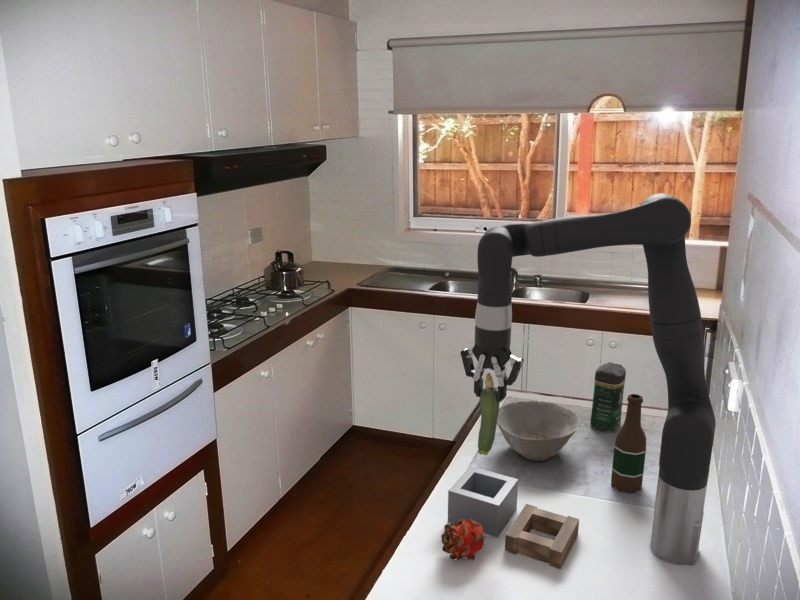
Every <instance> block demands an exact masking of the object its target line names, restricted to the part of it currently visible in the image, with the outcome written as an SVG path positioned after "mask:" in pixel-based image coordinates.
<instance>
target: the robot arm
mask: <svg viewBox="0 0 800 600" xmlns="http://www.w3.org/2000/svg"><path fill="white" fill-rule="evenodd" d="M689 210H690V209H688V207H687V206H686V204H685V203H684V202H683V201H681V200H680V199H679V198H677V197H676V196H674V195H672V194H668V193H662V192H661V193H655V194H652V195H650V196H648V197H647V198H645V199H644V200H643V201H642V202H641V203H640V205H638V206H634V207H632V208H631V207H630V208H628V209H625V210H621V211H620V210H619V211H615V212H610V213H603V214H593V215H590V214H589V215H576V216H575V215H574V216H564V217H556V218H551V219H550V218H549V219H545V220H538V221H535V222H530V223H510V224H502V225H496V226H493V227H491V228H489V229H487V230H486V231H485V232H484V234H483V235H482V236H481V238H480V240H479V241H478V244H477V254H476V255H477V259H476V260H477V272H478V284H477V300H476V301H477V302H476V309H475V316H474V321H475V322H474V324H475V325H474V345H473V347H468V346H466V347H464V348H463V349H462V350H460V358H461V360H462V365H463V368H464V369H463V370H464V371H465V376H466V377H471V378H472V379H473V394H475V396H476V397H477V398H480V394H481V391H482V390H483V389H484V378H483V376H484V373H485V370H486V369H490V370H491V371H493V372H494V374H495V377H496V378H497V383H498V385H497V391H498V392H497V401H498V402H499V403H501V402H503V400H505V399H506V397H507V391H508V386H510V387H511V386H512V385H513V384H514V383H515V382H516V381H517V379H518V376H519V375H520V371H521V368H522V367H523V364H524V361H525V360H524V358H523V357H516V356H515V355H513V353H512V351H511V337H512V324H513V323H512V322H513V321H512V320H513V310H512V309H513V307H512V301H513V298H512V297H513V280H512V278H511V276H512V264H513V263H512V262H513V257H514V258H515V257H521V256H528V255H529V256H532V257H536V258H541V257H548V256H555V255H562V254H568V253H569V254H570V253H573V252H581V251H587V250H591V249H597V248H605V247H615V246H616V247H619V246H631V245H633V246H635V245H636V246H638V245H639V246H643V247H642V248H643V252H644V257H645V262H646V268H647V292H648V293H647V294H648V296H647V297H648V310H649V320H650V321H649V322H650V328H651V336H652V340H653V344H654V347H655V351H656V354H657V358H658V359H659V362H660V364H661V367H662V369H663V372H664V374H665V379H666V387H667V413H666V417H665V421H664V423H663V427H662V431H661V432H662V433H661V442H660V449H659V450H660V451H659V460H658V466H659V467H658V468H659V469H658V476H657V485H656V493H655V502H654V509H653V510H654V511H653V517H652V518H653V519H652V526H651V533H650V542H649V543H650V544H649V547H650V550H651V551H652V552H653V554H654V555H656V557H658V558H660V560H661V559H662V560H663V561H665V562H668V563H672V564H677V565H678V564H679V565H686V564H687V565H696V562H697V558H698V553H699V548H700V541H701V534H702V528H703V520H704V514H705V513H704V512H705V510H704V509H705V500H706V494H707V486H708V482H709V481H708V480H709V475H710V466H711V460H712V453H713V448H714V447H713V445H714V438H715V432H716V428H717V427H716V426H717V425H716V417H715V412H714V408H713V405H712V402H711V399H710V393H709V390H708V386H707V379H706V371H705V342H704V341H705V340H704V328H703V322H702V313H701V309H700V303H699V300H698V295H697V291H696V289H695V285H694V282H693V278H692V276H691V273H690V270H689V269H690V268H689V265H688V260H687V252H686V250H687V247H686V236H687V233H688V232H689V230H690V227H691V223H692V217H691V212H690V211H689ZM473 357H475V359H476V361H477V365H476V367H475V364H474V359H473ZM509 361H510V362H509ZM508 362H509V363H510V367H511V371H510V372H509V375H508V374H507V371H508V370H507V366H506V364H507V363H508Z"/></svg>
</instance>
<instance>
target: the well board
mask: <svg viewBox="0 0 800 600" xmlns="http://www.w3.org/2000/svg"><path fill="white" fill-rule="evenodd" d="M579 525H580V519H579V518H576V517H574V516H570V515H567V516H565V515H562V514H559V513H555V512H552V511H548V510H545V509H542V508H538V507H537V506H535V505H532V504H528V503H525V505H524V506H523V508H522V509H521V511H520V512H519V514H518V515H517V517H516V518H515V520H514V521H513V523H512V524H511V526H510V528H508V530H507V531H506V533H505V540H504V552H507V553H510V554H512V555H517V554H518V555H521V556H524V557H527V558H530V559H533V560H536V561H539V562H542V563H545V564H548V566H549V567H552V568H555V569H558V570H561V569H562V567H563V565H564V564H565V561H566V559H567V558H568V555H570V554H569V553H570V551H571V549H572V548H573V546H574V543H575V542H576V540H577V538H578V535H579V527H580V526H579ZM532 530H534V531H535V532H539V533H542V534H545V535H549V536H552V537H555V538H554V540H553V539H550V538H547V537H544V536H541V535H537V534H534V533H531V531H532Z"/></svg>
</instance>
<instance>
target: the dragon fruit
mask: <svg viewBox="0 0 800 600" xmlns="http://www.w3.org/2000/svg"><path fill="white" fill-rule="evenodd" d="M440 539H441V543H442V544H443V546H442V547H441V548H442V549H441V550H442V552H445V553H446V554H450V555H449V559H450V560H452V561H455V560H457V561H458V560H462V559H463V558H466V559H467V560H472V561H475V560H476V555H475V554H476V553H478V552H479V551H480V550H483V547H484V545H485V540H486V536H484V533H483V528H482V525H481V524H480V523H477V522H476V521H475V520H472V519H468V520H466V521H465V518H464V519H461V520H458V521H455V523H451V524H445V525H444V531H443V533H442V534H441V537H440Z"/></svg>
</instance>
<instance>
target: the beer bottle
mask: <svg viewBox="0 0 800 600" xmlns="http://www.w3.org/2000/svg"><path fill="white" fill-rule="evenodd" d="M626 400H627V407H626V413H625V417H624V418H625V419H624V422H623V424H622V425H621V426H619V427H618V430H617V432H616V434H615V438H614V446H613V457H612V465H611V466H612V467H611V476H610V477H611V478H610V479H611V481H610V485H611V486H612V487H613V488H614V489H616V490H617V491H618V492H621V493H626V494H627V493H628V494H635V493H638V492H641V490H642V486H643V481H644V480H643V479H644V470H645V461H646V453H647V436H646V433H645V430H644V429H643V428H642V427H643V426H642V422H641V419H642V404H643V402H644V398H643V396H642V395H640V394H637V393H631V394H628V395H627V399H626ZM637 491H638V492H637Z"/></svg>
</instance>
